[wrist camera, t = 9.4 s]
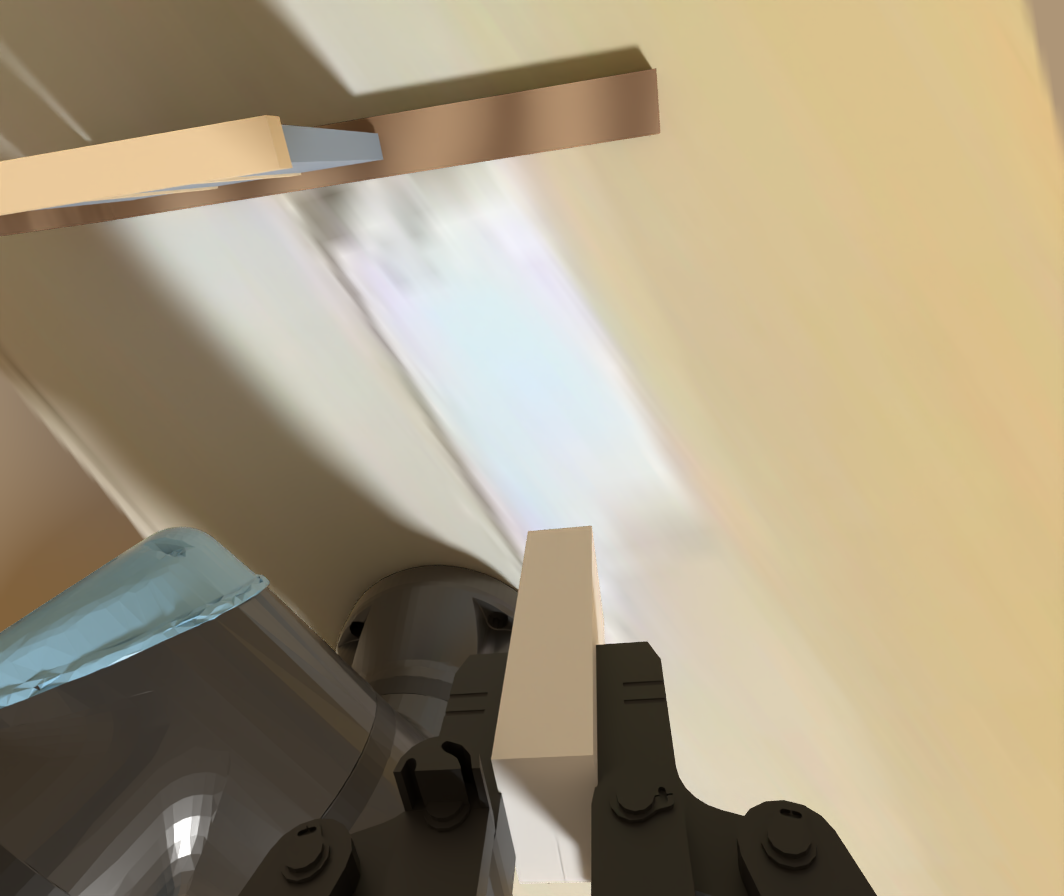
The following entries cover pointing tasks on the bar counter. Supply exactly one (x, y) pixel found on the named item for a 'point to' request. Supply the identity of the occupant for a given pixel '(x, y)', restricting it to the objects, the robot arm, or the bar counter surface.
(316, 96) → the bar counter surface
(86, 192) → the panel
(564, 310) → the bar counter surface
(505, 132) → the brown wooden rack
